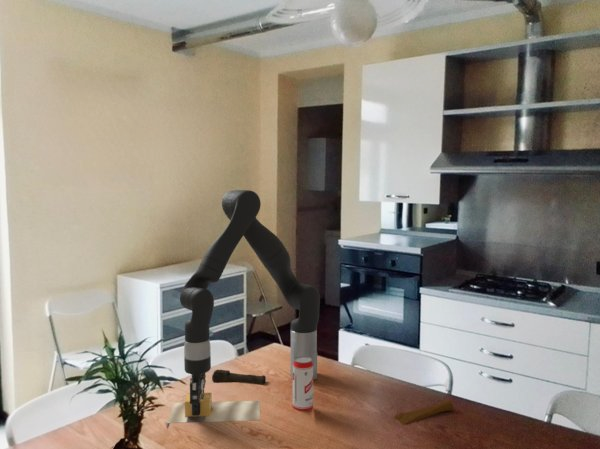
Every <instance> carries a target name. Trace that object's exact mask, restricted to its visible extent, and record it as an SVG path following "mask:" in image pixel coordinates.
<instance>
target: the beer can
mask: <svg viewBox="0 0 600 449" xmlns="http://www.w3.org/2000/svg"><path fill="white" fill-rule="evenodd" d="M311 360H312V359H311V358H310V357H306V356H300V357H296V358H295V361H294V363H293V379H292V408H293V409H294V410H297V411H300V412H301V411H302V412H303V411H304V412H305V411H310V412H312V411H313V409H314V379H313V363H312V361H311Z"/></svg>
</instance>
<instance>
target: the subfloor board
mask: <svg viewBox="0 0 600 449" xmlns="http://www.w3.org/2000/svg"><path fill="white" fill-rule="evenodd" d="M260 409H261V400H242V401H241V400H239V401H238V400H236V401H234V400H233V401H212V408H211V412H210V416H191V417H185V402H174V405H173V406H172V409H171V411H170V414H169V416H168V419H167V421H166V429H168V428H169V427H170V424H174V423H175V424H178V423H179V424H180V423H181V424H182V423H183V424H184V423H185V424H186V423H211V422H212V423H217V422H248V421H249V422H250V421H252V422H253V421H260V415H261V414H260V411H261V410H260Z"/></svg>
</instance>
